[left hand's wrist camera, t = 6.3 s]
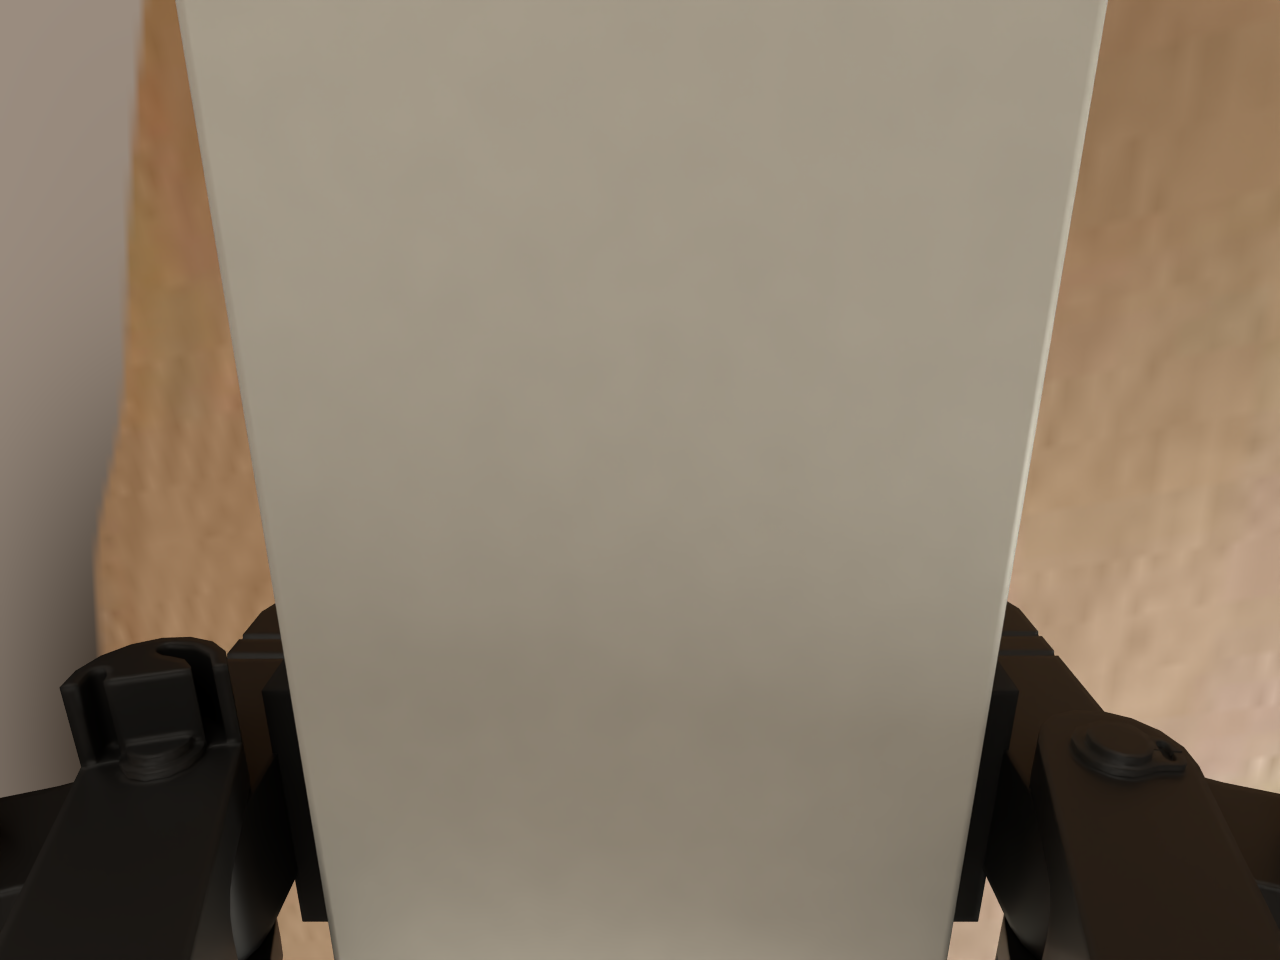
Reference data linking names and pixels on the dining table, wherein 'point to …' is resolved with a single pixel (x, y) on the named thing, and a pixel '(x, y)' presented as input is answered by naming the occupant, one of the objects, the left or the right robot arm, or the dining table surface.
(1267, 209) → the dining table surface
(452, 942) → the beam
